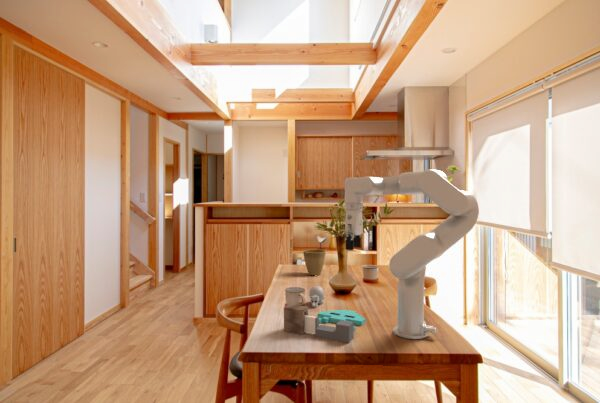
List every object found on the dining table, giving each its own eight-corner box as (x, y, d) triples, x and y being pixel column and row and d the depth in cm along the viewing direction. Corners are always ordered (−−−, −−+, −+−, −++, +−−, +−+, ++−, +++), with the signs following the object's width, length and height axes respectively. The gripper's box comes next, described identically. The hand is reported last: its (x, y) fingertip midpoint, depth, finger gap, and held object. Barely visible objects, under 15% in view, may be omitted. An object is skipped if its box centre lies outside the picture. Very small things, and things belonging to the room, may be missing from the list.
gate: (318, 333, 143) (319, 317, 143) (317, 334, 142) (317, 318, 141) (289, 327, 149) (289, 312, 149) (287, 329, 147) (287, 313, 147)
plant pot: (315, 271, 262) (315, 248, 262) (330, 275, 251) (330, 251, 250) (298, 274, 252) (298, 250, 252) (313, 278, 241) (313, 253, 241)
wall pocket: (308, 330, 147) (308, 306, 147) (302, 334, 142) (302, 310, 142) (290, 327, 150) (290, 304, 150) (283, 331, 146) (283, 307, 146)
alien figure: (353, 333, 145) (371, 319, 162) (353, 328, 145) (371, 314, 162) (307, 324, 155) (329, 311, 172) (307, 319, 155) (329, 307, 172)
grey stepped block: (353, 338, 139) (353, 322, 139) (349, 343, 134) (349, 326, 134) (320, 332, 145) (320, 317, 145) (315, 337, 140) (315, 320, 140)
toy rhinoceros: (306, 312, 179) (304, 297, 175) (311, 296, 189) (310, 282, 186) (321, 313, 177) (319, 298, 173) (326, 297, 187) (324, 283, 184)
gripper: (355, 208, 148) (355, 251, 148) (368, 206, 164) (368, 246, 164) (337, 207, 151) (337, 250, 152) (351, 206, 167) (351, 245, 167)
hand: (353, 248), depth 158 cm, fingers open, 9 cm apart
